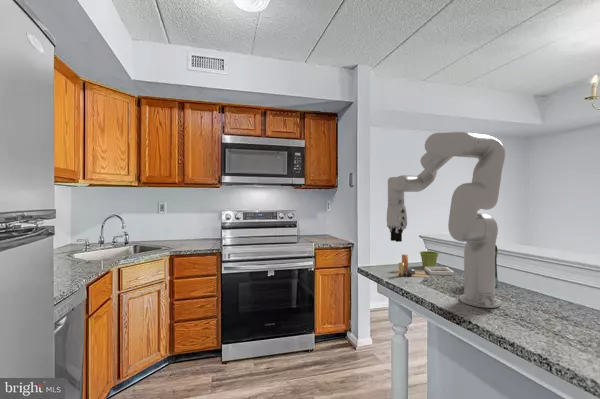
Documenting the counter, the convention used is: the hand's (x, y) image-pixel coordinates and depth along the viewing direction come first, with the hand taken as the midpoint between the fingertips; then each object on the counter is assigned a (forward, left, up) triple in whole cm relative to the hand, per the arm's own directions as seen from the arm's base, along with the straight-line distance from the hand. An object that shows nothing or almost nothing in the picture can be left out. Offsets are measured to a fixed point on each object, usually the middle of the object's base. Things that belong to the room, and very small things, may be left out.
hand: (396, 240), depth 145 cm
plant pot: (+19, -20, -17) cm, 32 cm away
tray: (+7, -21, -17) cm, 28 cm away
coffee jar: (-10, -35, -17) cm, 40 cm away
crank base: (+3, -7, -17) cm, 19 cm away
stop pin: (+8, -5, -16) cm, 19 cm away
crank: (0, -5, -16) cm, 17 cm away
